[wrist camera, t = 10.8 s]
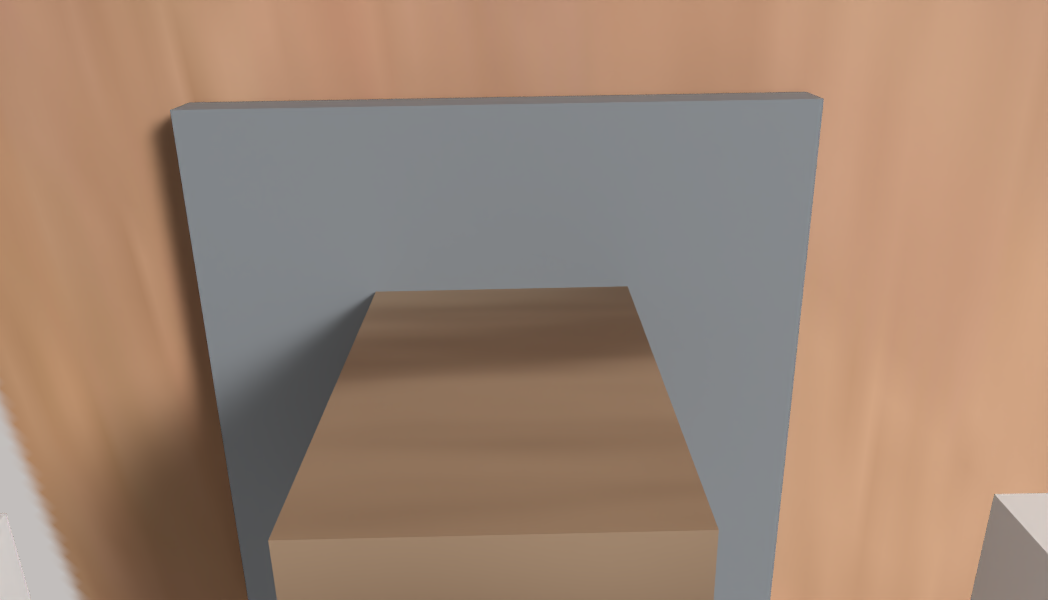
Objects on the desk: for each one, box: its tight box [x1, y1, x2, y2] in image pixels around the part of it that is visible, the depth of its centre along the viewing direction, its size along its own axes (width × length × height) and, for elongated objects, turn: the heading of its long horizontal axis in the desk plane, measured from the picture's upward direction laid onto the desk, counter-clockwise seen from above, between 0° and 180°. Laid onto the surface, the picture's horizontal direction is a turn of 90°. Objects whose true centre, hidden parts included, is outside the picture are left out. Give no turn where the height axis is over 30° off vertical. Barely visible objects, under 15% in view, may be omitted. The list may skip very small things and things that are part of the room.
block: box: [268, 286, 719, 600], centre depth 14 cm, size 5×5×8 cm
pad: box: [170, 92, 824, 600], centre depth 18 cm, size 12×12×1 cm
